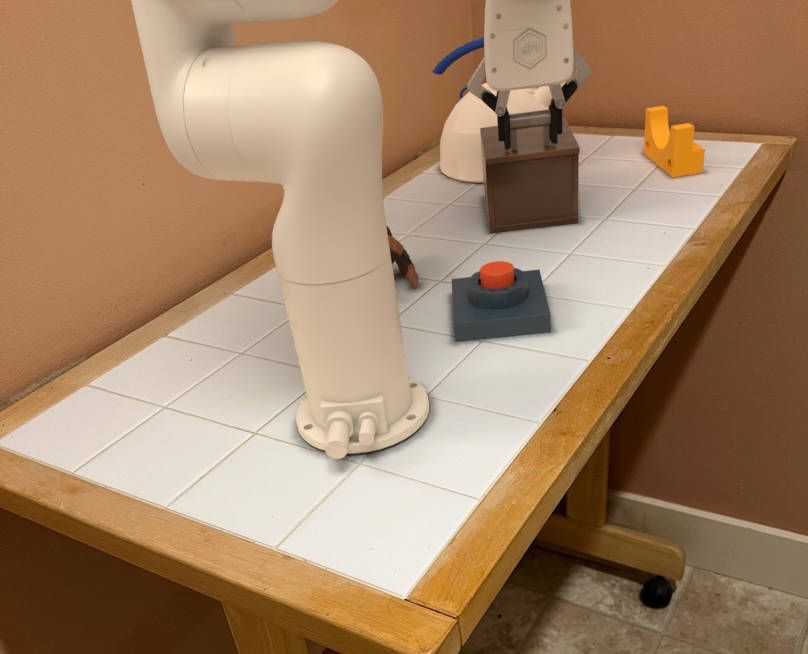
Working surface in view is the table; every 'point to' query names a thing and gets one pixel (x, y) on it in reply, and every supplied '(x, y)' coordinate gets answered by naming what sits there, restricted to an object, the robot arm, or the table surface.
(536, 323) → the control block
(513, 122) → the box lid
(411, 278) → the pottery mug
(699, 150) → the pipe clamp
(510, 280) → the button
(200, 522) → the table surface
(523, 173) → the lidded box
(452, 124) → the kettle
